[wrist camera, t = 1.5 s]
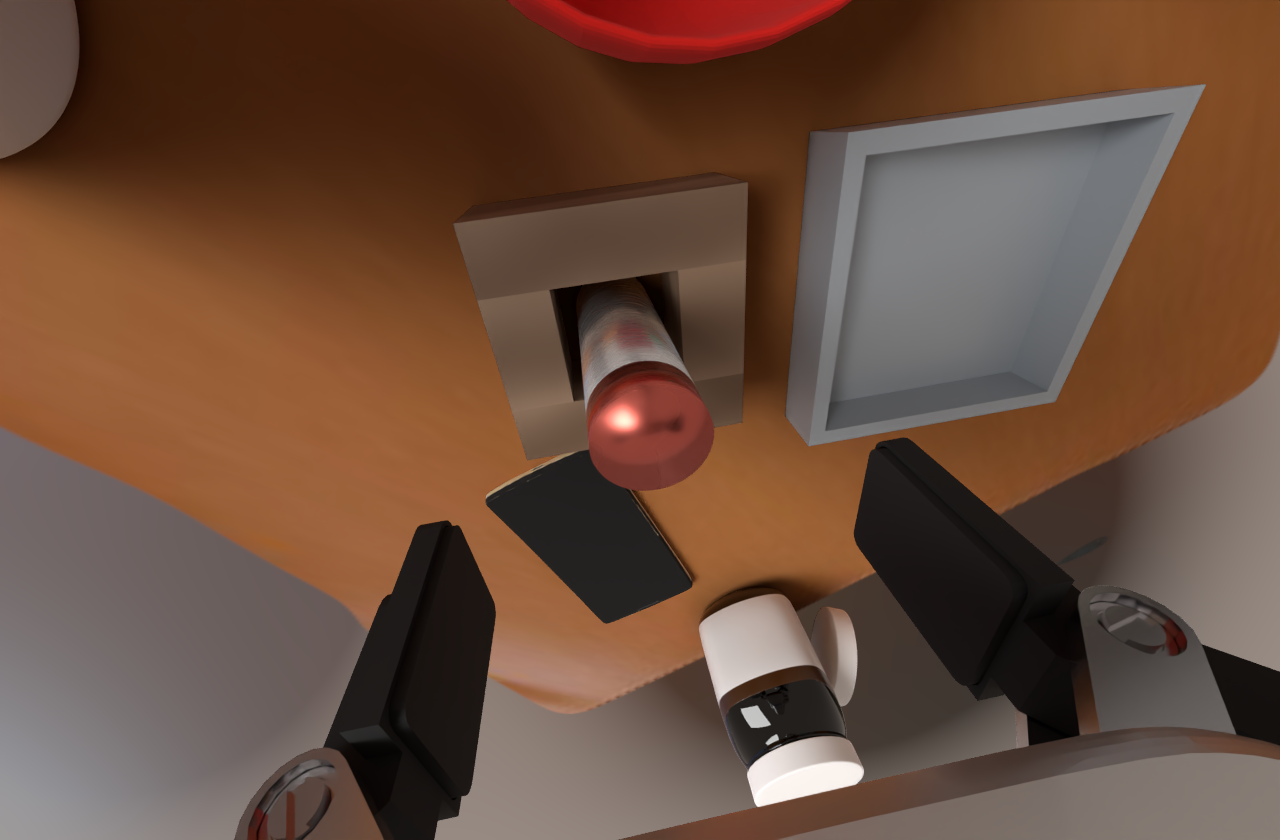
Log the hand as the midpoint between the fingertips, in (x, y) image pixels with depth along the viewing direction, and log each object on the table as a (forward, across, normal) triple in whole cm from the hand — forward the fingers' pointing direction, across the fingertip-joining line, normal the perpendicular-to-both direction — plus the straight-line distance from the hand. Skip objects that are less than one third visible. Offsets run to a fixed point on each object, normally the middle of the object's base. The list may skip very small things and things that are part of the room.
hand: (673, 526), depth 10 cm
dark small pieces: (+14, +3, +14) cm, 21 cm away
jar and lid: (+14, -9, +26) cm, 32 cm away
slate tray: (+14, -16, 0) cm, 21 cm away
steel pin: (+14, 0, -1) cm, 14 cm away
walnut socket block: (+14, 0, -1) cm, 14 cm away
